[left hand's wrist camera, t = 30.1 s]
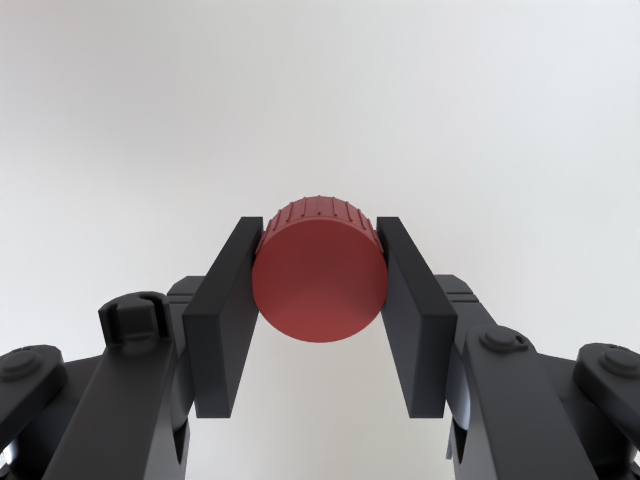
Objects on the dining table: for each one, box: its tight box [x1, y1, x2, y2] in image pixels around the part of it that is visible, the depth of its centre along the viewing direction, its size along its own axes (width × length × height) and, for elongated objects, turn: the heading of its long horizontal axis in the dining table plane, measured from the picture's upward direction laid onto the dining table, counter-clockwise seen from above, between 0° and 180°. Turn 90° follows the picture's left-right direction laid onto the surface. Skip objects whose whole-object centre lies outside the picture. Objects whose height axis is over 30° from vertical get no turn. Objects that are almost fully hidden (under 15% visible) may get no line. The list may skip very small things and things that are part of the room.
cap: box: [252, 195, 388, 343], centre depth 13 cm, size 4×4×3 cm
